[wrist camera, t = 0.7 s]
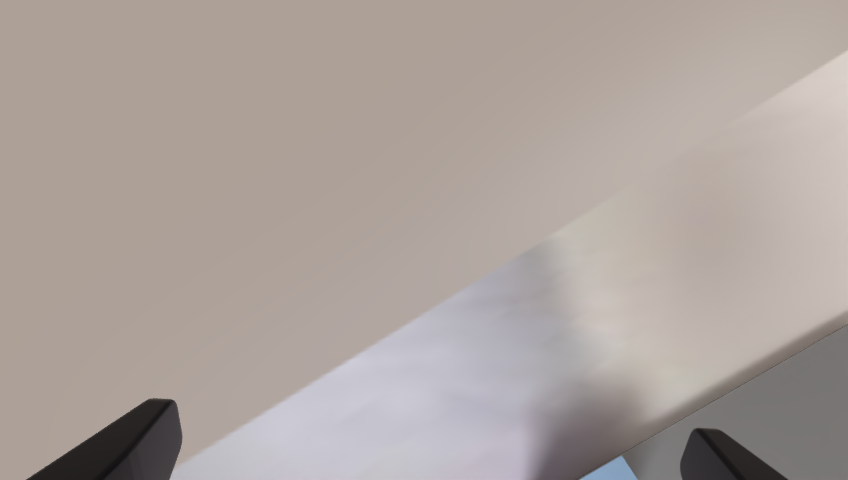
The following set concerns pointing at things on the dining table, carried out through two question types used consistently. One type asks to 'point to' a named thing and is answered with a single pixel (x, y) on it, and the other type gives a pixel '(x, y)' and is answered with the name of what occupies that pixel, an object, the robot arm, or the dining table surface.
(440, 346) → the dining table surface
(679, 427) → the capsule display stand
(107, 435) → the robot arm
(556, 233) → the dining table surface
